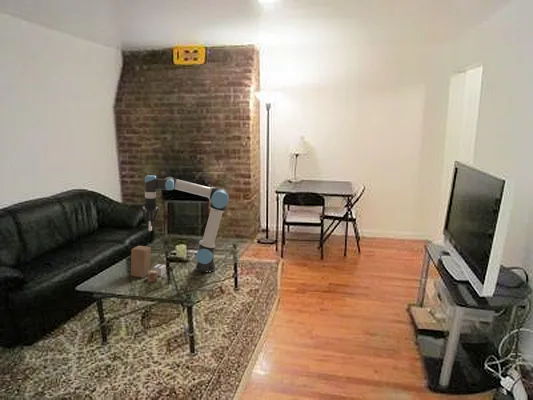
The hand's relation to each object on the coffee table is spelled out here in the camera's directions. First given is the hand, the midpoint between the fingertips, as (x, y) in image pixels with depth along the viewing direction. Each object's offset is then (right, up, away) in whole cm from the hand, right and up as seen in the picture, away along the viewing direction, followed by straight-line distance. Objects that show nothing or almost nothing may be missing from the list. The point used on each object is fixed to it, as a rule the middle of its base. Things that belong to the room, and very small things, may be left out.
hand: (150, 230), depth 262 cm
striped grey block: (+5, -32, +5) cm, 33 cm away
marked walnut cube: (+4, -34, -7) cm, 35 cm away
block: (-7, -32, 0) cm, 33 cm away
